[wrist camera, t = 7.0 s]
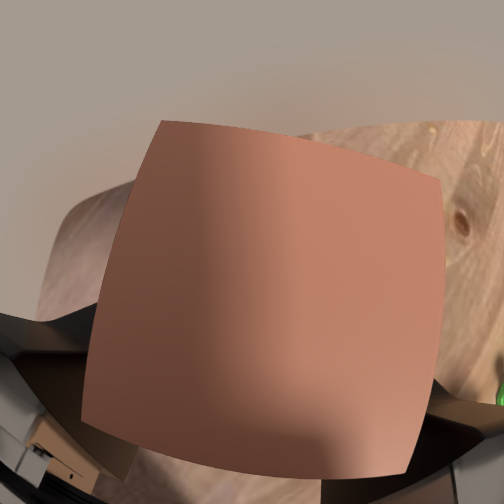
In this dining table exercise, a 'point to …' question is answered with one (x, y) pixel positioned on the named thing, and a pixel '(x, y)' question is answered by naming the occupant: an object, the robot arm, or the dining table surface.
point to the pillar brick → (270, 306)
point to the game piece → (501, 396)
